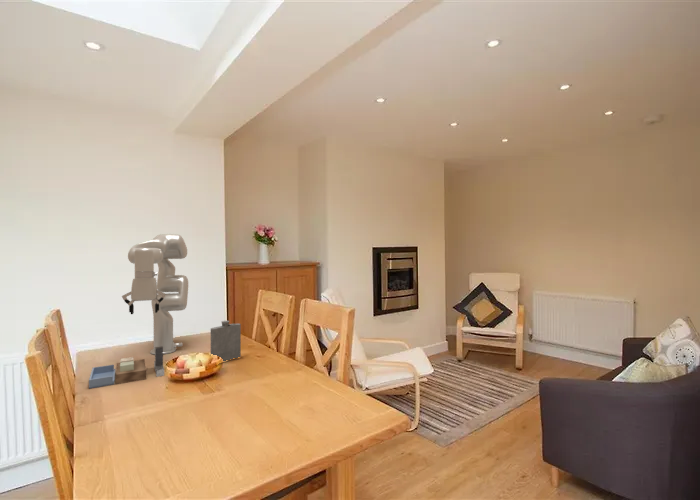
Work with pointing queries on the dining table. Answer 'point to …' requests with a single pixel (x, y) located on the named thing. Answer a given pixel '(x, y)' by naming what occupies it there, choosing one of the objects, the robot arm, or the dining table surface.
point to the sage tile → (126, 366)
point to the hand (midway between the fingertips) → (144, 313)
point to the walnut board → (131, 373)
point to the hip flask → (226, 341)
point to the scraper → (159, 361)
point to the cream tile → (126, 359)
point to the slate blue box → (102, 376)
